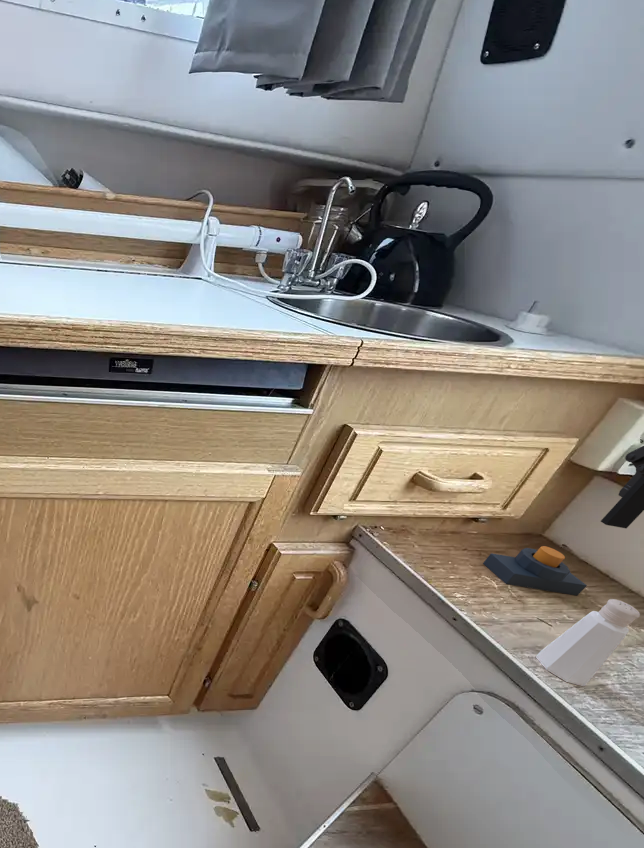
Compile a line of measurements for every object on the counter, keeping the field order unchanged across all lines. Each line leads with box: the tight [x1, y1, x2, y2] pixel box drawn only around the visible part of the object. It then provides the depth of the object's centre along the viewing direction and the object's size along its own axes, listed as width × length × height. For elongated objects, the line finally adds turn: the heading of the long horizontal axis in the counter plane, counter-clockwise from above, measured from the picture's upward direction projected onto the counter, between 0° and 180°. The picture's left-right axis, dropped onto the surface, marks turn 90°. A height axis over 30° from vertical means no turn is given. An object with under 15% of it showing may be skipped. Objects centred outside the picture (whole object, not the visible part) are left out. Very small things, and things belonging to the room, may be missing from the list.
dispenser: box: [482, 547, 588, 596], centre depth 87 cm, size 12×6×4 cm, turn 88°
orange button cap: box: [533, 545, 566, 568], centre depth 85 cm, size 3×3×2 cm
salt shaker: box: [535, 598, 641, 687], centre depth 67 cm, size 5×5×11 cm
